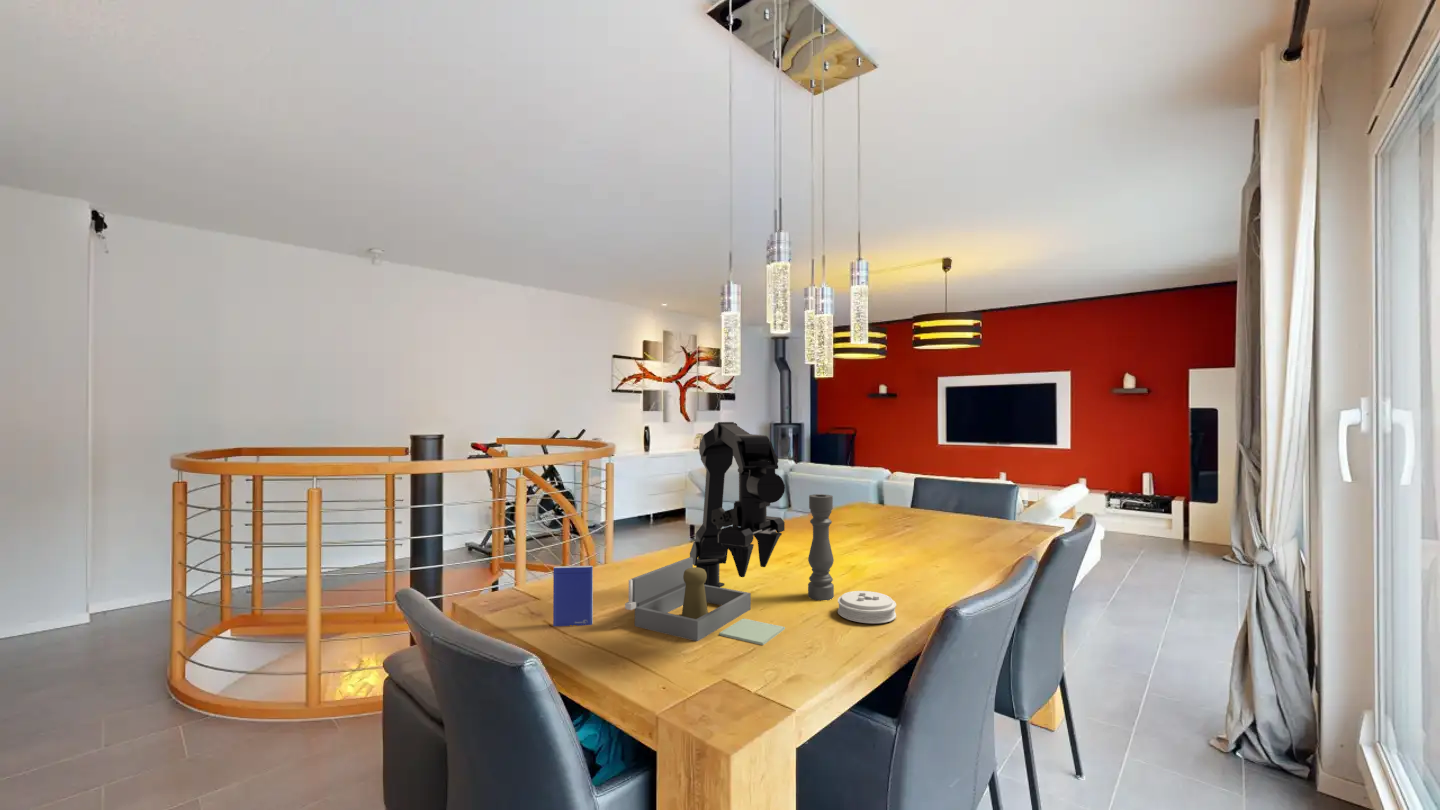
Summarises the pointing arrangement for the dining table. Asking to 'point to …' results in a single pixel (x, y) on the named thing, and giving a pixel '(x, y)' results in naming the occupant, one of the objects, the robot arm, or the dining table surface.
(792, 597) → the dining table surface
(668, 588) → the equipment case
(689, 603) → the olive brown pawn
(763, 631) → the mat
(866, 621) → the lid
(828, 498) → the candle holder
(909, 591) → the dining table surface
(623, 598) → the dining table surface
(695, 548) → the robot arm
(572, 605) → the hard drive
